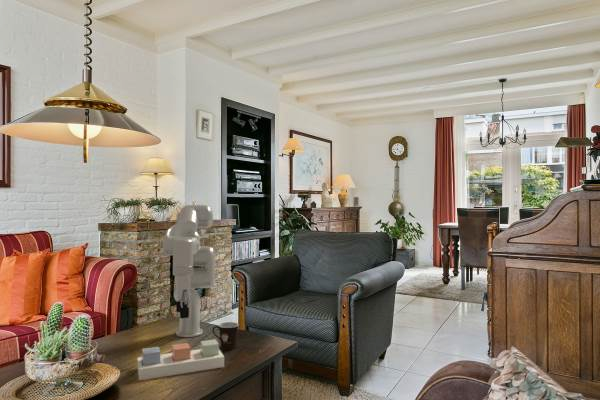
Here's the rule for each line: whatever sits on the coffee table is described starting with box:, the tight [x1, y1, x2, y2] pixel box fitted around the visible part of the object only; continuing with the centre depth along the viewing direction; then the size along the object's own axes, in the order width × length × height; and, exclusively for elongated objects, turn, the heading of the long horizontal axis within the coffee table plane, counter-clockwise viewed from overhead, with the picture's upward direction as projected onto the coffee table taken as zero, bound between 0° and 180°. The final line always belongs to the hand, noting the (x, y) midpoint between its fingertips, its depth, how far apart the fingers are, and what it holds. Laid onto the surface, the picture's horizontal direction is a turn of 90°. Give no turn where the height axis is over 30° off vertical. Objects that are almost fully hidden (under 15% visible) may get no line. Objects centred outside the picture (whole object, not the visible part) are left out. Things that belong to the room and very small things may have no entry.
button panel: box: [136, 348, 225, 381], centre depth 158 cm, size 12×31×4 cm, turn 115°
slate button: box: [141, 346, 161, 366], centre depth 154 cm, size 6×6×5 cm
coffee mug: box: [212, 321, 239, 351], centre depth 182 cm, size 12×9×10 cm
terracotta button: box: [171, 342, 192, 361], centre depth 158 cm, size 6×6×5 cm
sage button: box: [200, 339, 220, 357], centre depth 163 cm, size 6×6×5 cm
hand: (182, 314), depth 159 cm, fingers open, 9 cm apart
